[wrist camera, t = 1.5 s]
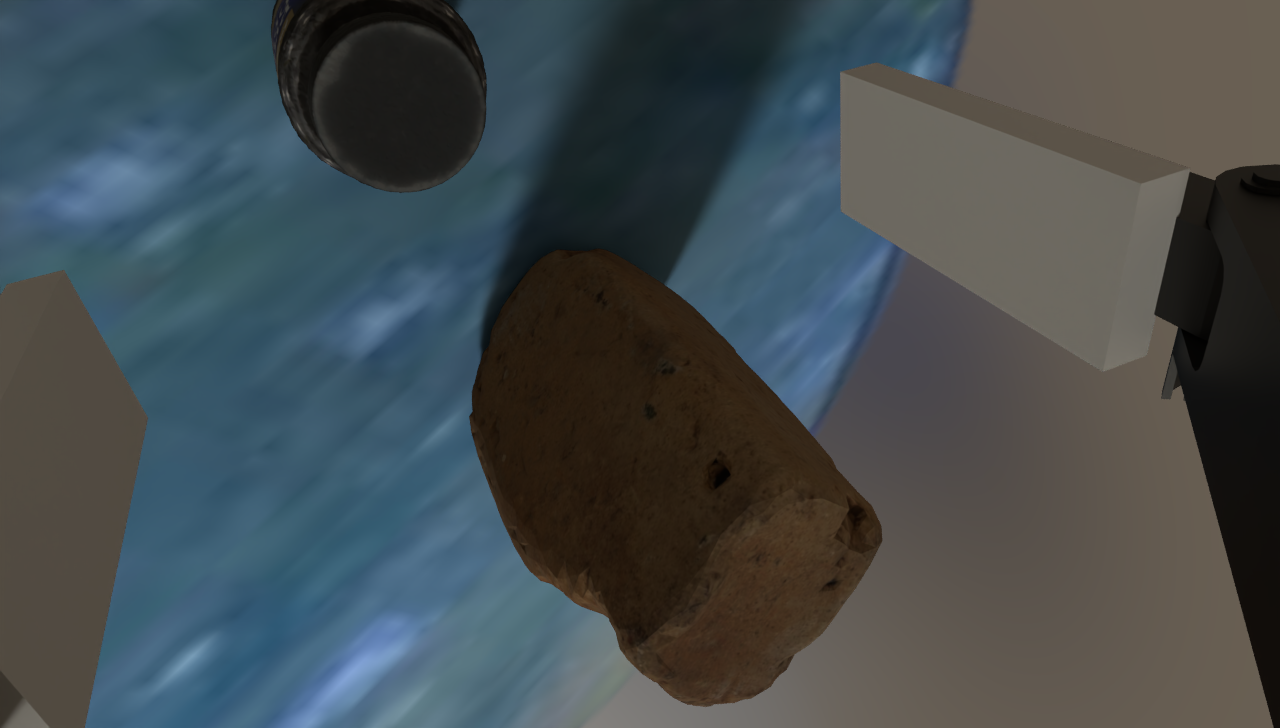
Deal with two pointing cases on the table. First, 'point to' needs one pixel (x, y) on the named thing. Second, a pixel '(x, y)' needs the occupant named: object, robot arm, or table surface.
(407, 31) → the pill bottle
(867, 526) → the block
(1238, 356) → the robot arm
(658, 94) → the table surface
